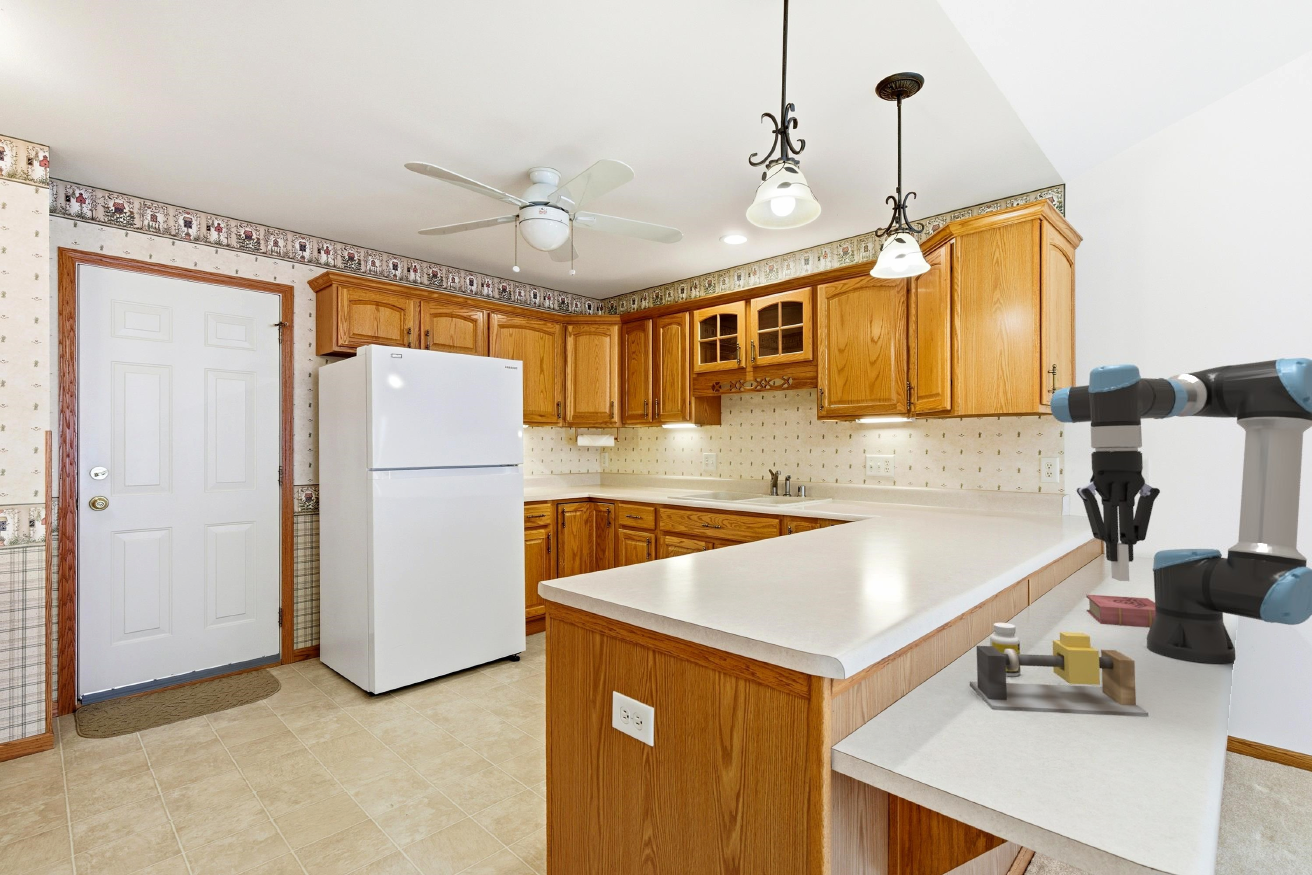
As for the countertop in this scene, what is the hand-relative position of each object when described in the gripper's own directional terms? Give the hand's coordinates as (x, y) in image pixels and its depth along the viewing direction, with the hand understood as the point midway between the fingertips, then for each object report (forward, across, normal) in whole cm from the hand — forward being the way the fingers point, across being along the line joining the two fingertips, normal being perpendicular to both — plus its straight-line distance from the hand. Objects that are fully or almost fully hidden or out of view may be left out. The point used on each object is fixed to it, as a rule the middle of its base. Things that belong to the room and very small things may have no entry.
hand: (1120, 579), depth 114 cm
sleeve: (+18, +8, 0) cm, 20 cm away
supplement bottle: (+22, +15, -14) cm, 30 cm away
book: (+23, -32, -61) cm, 73 cm away
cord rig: (+22, +12, 0) cm, 25 cm away
